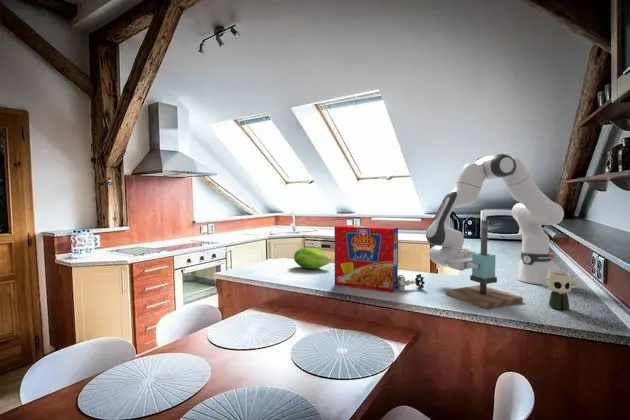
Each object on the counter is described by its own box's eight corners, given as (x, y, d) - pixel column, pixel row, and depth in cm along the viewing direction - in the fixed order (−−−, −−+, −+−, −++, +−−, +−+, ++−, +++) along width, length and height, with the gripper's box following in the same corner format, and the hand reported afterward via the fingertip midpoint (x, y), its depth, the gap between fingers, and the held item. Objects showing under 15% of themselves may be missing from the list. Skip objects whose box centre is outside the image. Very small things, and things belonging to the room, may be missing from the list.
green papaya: (324, 273, 187) (324, 251, 187) (288, 269, 197) (288, 249, 197) (334, 268, 199) (334, 248, 198) (299, 264, 209) (299, 245, 208)
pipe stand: (480, 289, 154) (481, 218, 152) (522, 302, 136) (524, 221, 134) (446, 294, 146) (447, 219, 145) (485, 309, 128) (487, 223, 126)
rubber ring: (482, 278, 145) (482, 273, 145) (496, 282, 139) (496, 277, 139) (470, 280, 142) (470, 275, 142) (484, 284, 136) (484, 279, 136)
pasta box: (334, 284, 163) (334, 226, 161) (341, 281, 170) (341, 224, 168) (392, 292, 150) (393, 229, 148) (397, 288, 157) (398, 227, 155)
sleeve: (482, 274, 144) (483, 252, 144) (495, 277, 139) (495, 255, 138) (472, 275, 142) (472, 253, 142) (484, 278, 136) (484, 256, 136)
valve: (400, 292, 150) (424, 290, 153) (400, 277, 150) (424, 275, 153) (393, 288, 157) (416, 286, 160) (393, 274, 156) (416, 272, 159)
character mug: (545, 309, 127) (546, 275, 126) (538, 303, 134) (539, 270, 133) (580, 312, 124) (581, 276, 123) (571, 306, 131) (572, 272, 130)
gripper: (441, 254, 148) (466, 260, 135) (476, 251, 156) (503, 256, 143) (440, 269, 148) (466, 276, 136) (475, 265, 156) (502, 271, 143)
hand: (485, 266), depth 139 cm, fingers closed on sleeve, 6 cm apart
